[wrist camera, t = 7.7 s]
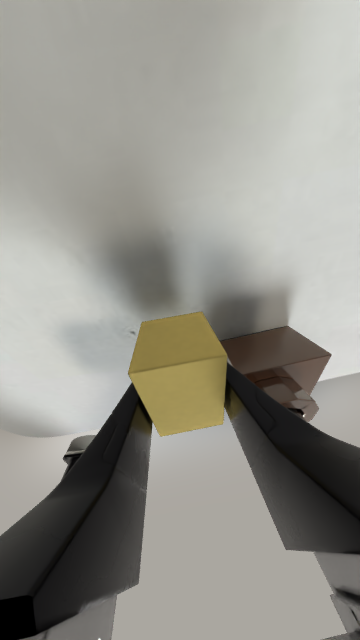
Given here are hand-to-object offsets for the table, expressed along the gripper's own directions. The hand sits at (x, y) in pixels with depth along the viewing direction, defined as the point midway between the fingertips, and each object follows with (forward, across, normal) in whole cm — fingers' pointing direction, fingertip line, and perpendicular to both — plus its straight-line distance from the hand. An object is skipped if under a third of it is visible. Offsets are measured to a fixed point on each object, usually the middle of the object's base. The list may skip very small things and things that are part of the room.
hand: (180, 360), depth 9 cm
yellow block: (+1, 0, 0) cm, 1 cm away
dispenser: (+5, -9, +7) cm, 12 cm away
